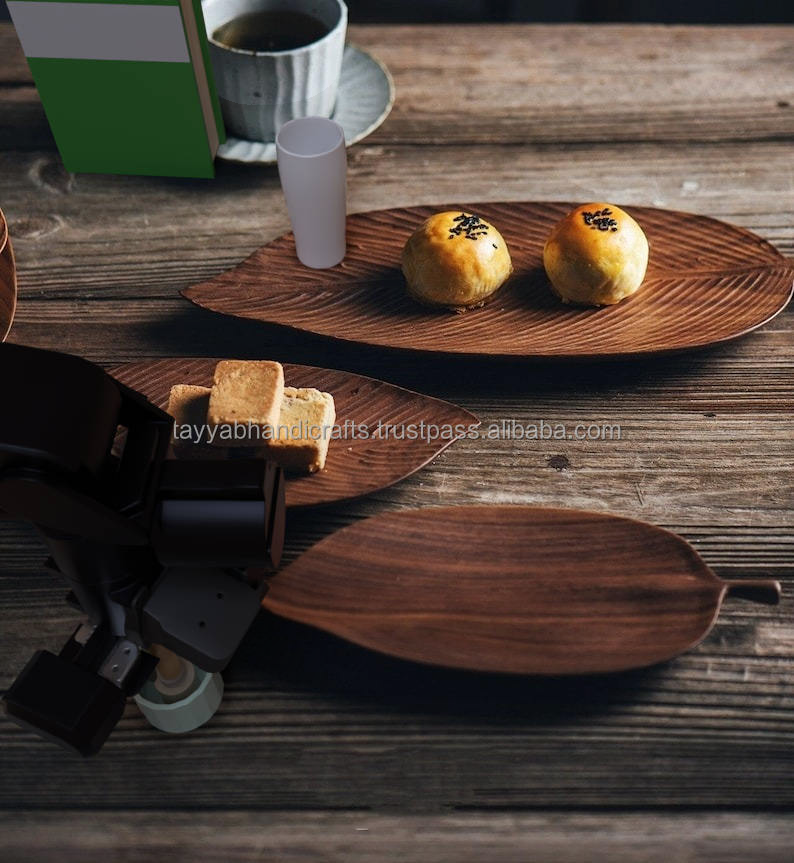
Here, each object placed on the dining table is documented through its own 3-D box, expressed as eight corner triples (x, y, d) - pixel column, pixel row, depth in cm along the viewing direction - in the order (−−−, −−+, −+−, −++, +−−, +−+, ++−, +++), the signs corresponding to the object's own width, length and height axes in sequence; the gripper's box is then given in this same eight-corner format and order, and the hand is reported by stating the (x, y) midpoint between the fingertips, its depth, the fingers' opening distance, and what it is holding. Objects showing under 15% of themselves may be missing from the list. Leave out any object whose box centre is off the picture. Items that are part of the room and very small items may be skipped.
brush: (166, 716, 69) (134, 660, 61) (158, 680, 70) (125, 621, 62) (206, 702, 69) (179, 644, 61) (196, 666, 71) (169, 606, 63)
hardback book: (227, 143, 113) (189, -60, 94) (214, 181, 108) (172, -25, 89) (86, 137, 114) (20, -65, 95) (67, 175, 110) (-5, -30, 91)
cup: (151, 747, 68) (134, 722, 64) (134, 672, 71) (118, 644, 68) (233, 717, 69) (222, 691, 65) (213, 645, 73) (201, 616, 69)
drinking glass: (324, 226, 103) (312, 106, 91) (366, 255, 100) (359, 134, 88) (277, 255, 100) (259, 135, 88) (319, 286, 97) (306, 166, 85)
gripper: (130, 748, 45) (191, 834, 58) (307, 463, 56) (327, 588, 68) (-50, 661, 48) (45, 761, 61) (150, 405, 58) (196, 535, 71)
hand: (163, 655), depth 65 cm, fingers open, 3 cm apart
